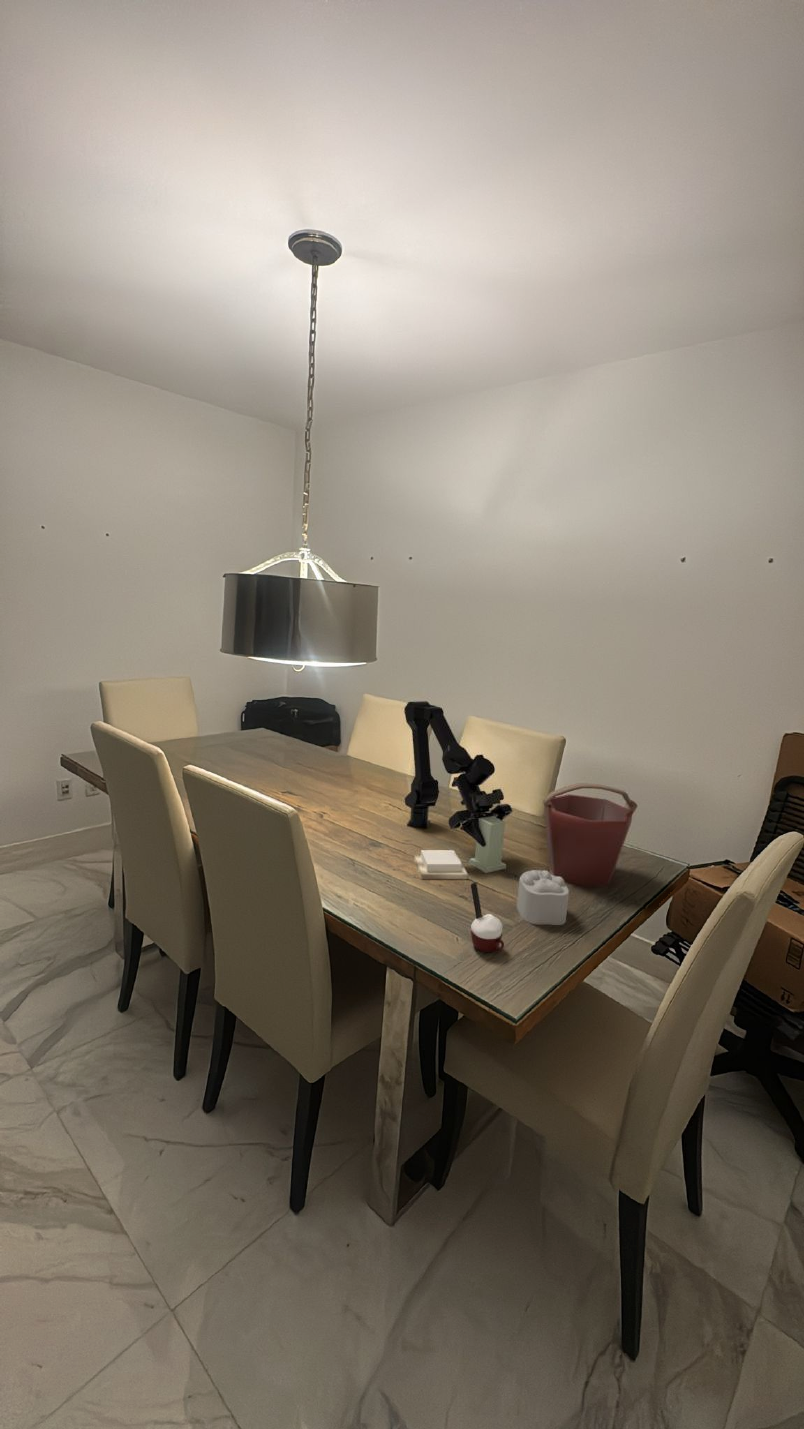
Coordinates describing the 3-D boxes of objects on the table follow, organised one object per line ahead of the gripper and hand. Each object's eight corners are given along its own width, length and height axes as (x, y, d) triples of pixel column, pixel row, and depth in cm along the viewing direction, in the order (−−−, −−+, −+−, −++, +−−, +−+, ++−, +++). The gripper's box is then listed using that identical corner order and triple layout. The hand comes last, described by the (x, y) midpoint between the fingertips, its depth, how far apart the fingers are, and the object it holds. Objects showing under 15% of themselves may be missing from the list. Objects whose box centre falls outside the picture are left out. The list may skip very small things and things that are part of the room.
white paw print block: (524, 924, 135) (528, 888, 133) (511, 896, 147) (514, 863, 146) (570, 925, 135) (574, 889, 134) (552, 898, 148) (556, 864, 147)
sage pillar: (469, 862, 166) (473, 817, 163) (489, 858, 169) (493, 814, 167) (485, 873, 160) (490, 826, 157) (505, 868, 163) (510, 822, 161)
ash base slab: (413, 861, 165) (414, 855, 165) (456, 861, 167) (457, 855, 167) (421, 881, 154) (421, 874, 153) (467, 881, 155) (467, 874, 155)
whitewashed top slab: (420, 857, 164) (421, 850, 164) (452, 857, 165) (453, 850, 165) (426, 871, 155) (427, 864, 155) (460, 871, 157) (461, 864, 156)
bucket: (625, 866, 170) (637, 781, 166) (633, 900, 149) (647, 804, 145) (537, 851, 177) (546, 769, 172) (532, 882, 156) (543, 789, 151)
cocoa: (507, 958, 121) (516, 904, 119) (478, 961, 119) (487, 906, 117) (487, 932, 130) (495, 881, 128) (460, 934, 128) (468, 882, 126)
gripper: (458, 782, 159) (481, 836, 152) (511, 776, 169) (535, 826, 161) (438, 802, 167) (459, 854, 159) (490, 794, 177) (512, 844, 169)
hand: (493, 844), depth 162 cm, fingers open, 6 cm apart
